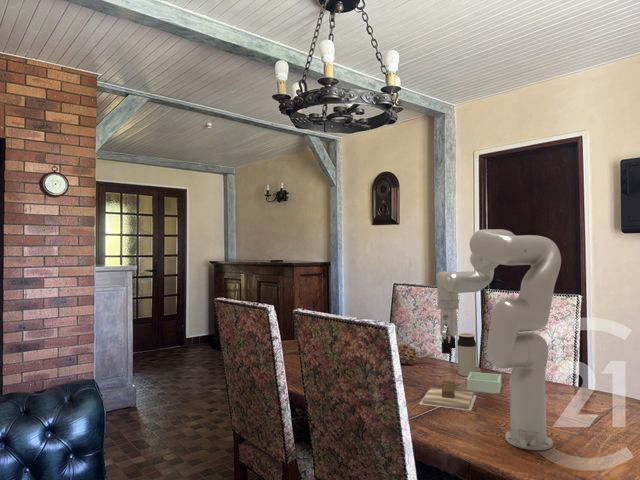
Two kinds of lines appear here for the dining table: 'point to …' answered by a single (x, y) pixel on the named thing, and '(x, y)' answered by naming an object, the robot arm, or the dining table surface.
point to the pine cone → (409, 354)
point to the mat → (453, 407)
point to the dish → (484, 382)
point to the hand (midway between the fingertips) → (448, 350)
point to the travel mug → (466, 354)
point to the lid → (448, 396)
